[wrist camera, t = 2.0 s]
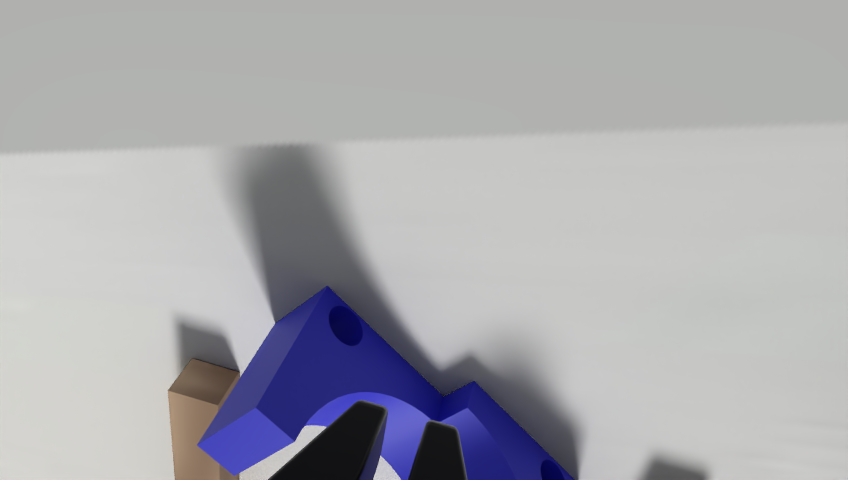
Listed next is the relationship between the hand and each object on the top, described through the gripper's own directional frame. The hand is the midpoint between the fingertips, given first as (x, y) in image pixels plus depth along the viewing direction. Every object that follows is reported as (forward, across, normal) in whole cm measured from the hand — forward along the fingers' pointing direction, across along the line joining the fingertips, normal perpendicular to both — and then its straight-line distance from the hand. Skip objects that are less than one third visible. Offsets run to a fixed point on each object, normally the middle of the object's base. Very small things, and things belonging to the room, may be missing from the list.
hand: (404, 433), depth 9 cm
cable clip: (+12, 0, +12) cm, 18 cm away
